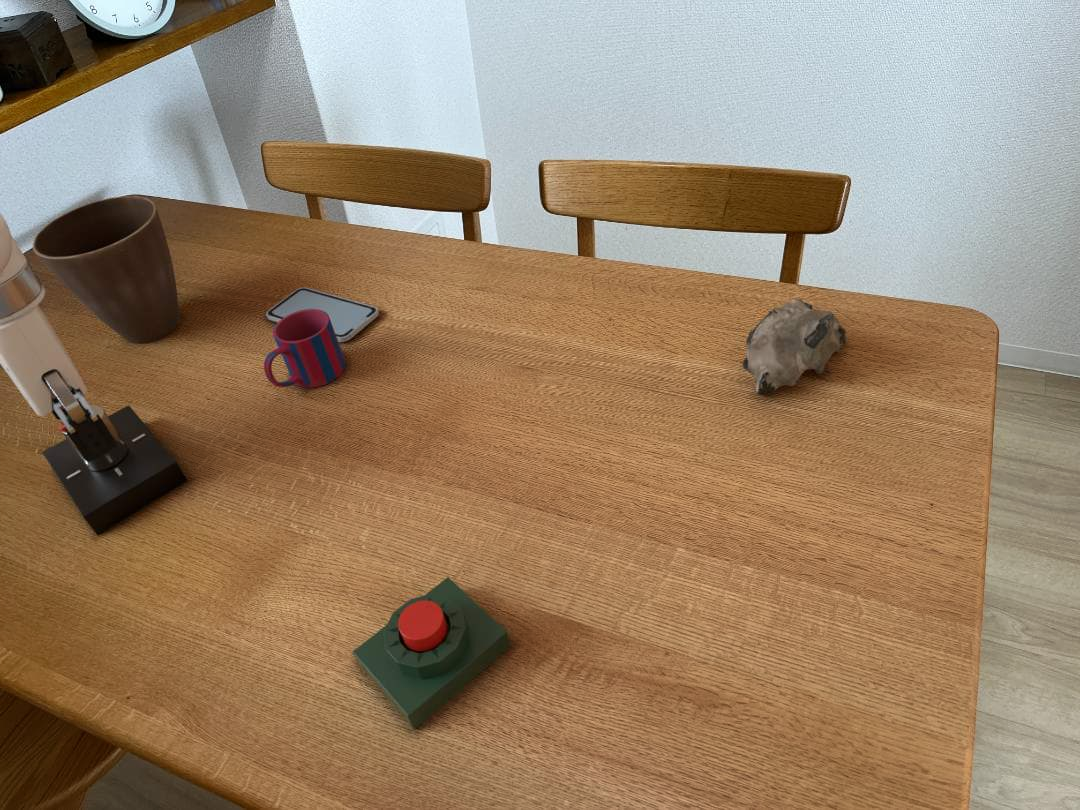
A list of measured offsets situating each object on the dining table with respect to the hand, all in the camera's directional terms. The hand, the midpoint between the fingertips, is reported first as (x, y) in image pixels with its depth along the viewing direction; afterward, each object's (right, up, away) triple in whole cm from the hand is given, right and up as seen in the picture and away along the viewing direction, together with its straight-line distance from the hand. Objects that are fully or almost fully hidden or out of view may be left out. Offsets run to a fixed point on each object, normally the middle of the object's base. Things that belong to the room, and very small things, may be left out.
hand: (86, 432), depth 84 cm
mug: (+19, +6, +14) cm, 24 cm away
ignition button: (+38, -15, -19) cm, 45 cm away
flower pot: (-6, +13, +27) cm, 31 cm away
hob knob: (0, -3, +3) cm, 4 cm away
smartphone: (+18, +14, +24) cm, 33 cm away
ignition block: (+38, -18, -17) cm, 46 cm away
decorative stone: (+75, +7, +4) cm, 75 cm away
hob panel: (+1, -5, +5) cm, 7 cm away
